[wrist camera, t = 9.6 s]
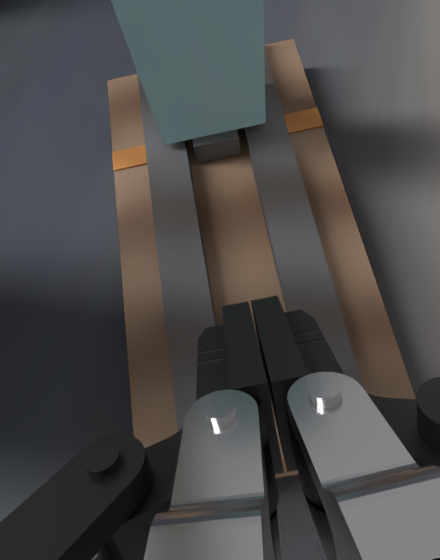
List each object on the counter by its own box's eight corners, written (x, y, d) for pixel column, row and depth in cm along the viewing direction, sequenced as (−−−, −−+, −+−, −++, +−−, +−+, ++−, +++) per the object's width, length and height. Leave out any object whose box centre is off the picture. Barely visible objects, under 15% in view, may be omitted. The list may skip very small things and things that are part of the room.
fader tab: (268, 148, 20) (264, -109, 11) (170, 168, 20) (84, -65, 11) (252, 89, 22) (238, -179, 12) (162, 110, 22) (80, -139, 13)
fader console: (415, 450, 16) (445, 451, 14) (152, 495, 17) (129, 505, 14) (291, 68, 25) (293, 21, 22) (119, 106, 25) (100, 66, 23)
